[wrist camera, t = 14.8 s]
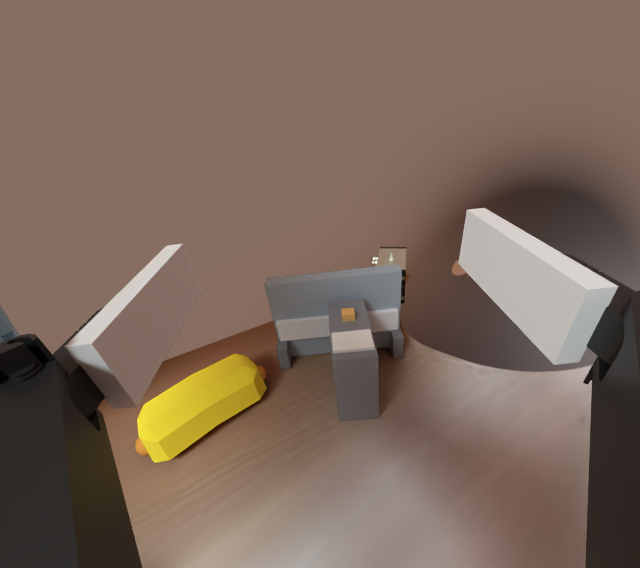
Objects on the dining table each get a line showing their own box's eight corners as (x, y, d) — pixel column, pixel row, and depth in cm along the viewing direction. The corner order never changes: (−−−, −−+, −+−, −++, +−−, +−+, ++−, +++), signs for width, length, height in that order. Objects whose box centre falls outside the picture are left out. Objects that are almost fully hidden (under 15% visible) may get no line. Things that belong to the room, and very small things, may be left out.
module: (339, 421, 37) (330, 354, 31) (334, 357, 46) (326, 295, 40) (379, 417, 37) (378, 349, 30) (365, 354, 46) (363, 292, 40)
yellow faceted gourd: (137, 436, 39) (148, 485, 33) (112, 405, 35) (120, 454, 30) (256, 364, 47) (281, 393, 42) (246, 333, 44) (271, 361, 38)
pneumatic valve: (404, 292, 59) (406, 238, 53) (402, 330, 50) (405, 269, 43) (376, 291, 61) (375, 238, 54) (370, 327, 51) (368, 268, 45)
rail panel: (281, 369, 45) (261, 295, 38) (283, 348, 49) (266, 278, 42) (403, 357, 44) (406, 280, 37) (396, 337, 48) (398, 264, 41)
